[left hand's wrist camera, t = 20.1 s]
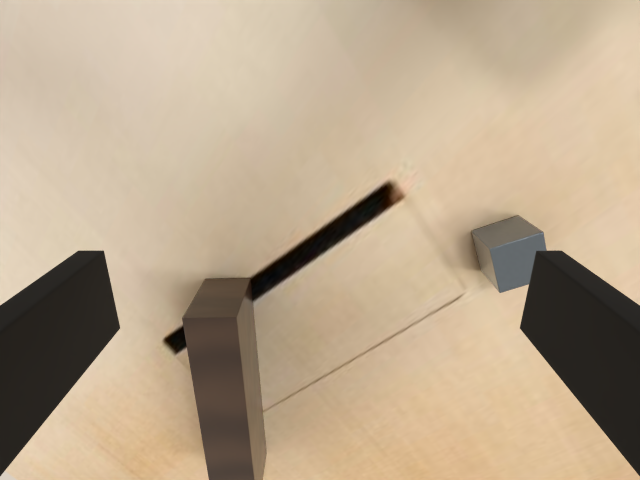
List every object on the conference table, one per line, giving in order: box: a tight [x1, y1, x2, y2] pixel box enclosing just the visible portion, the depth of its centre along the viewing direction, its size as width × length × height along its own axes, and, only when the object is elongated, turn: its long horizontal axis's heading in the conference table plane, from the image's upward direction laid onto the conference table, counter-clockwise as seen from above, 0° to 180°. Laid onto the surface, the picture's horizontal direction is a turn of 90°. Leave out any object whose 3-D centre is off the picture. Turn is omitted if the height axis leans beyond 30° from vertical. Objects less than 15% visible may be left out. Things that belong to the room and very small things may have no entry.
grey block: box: [471, 216, 546, 293], centre depth 41 cm, size 5×5×5 cm
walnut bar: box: [182, 278, 266, 480], centre depth 45 cm, size 26×5×8 cm, turn 1°
